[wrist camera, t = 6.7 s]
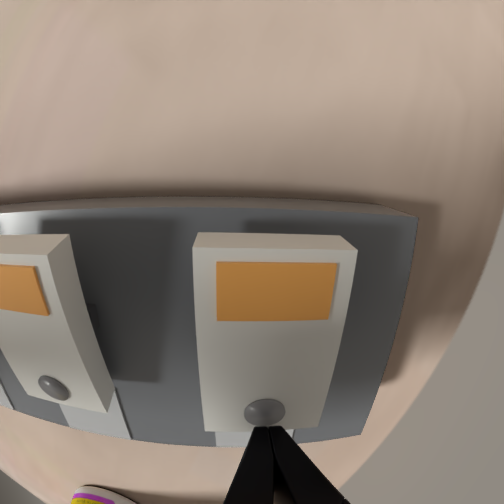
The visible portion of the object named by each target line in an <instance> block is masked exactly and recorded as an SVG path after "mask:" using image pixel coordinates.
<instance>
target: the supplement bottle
mask: <svg viewBox="0 0 504 504" xmlns="http://www.w3.org/2000/svg"><path fill="white" fill-rule="evenodd" d="M71 504H136V503H135V502H133V501H131V500H130V499H128V498H126V497H124V496H121V495H119V494H117V493H114V492H112V491H109V490H106V489H102V488H98V487H92V486H82V487H79V488H78V489H77V490H76V491H75V493H74V496H73V499H72V502H71Z"/></svg>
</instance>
